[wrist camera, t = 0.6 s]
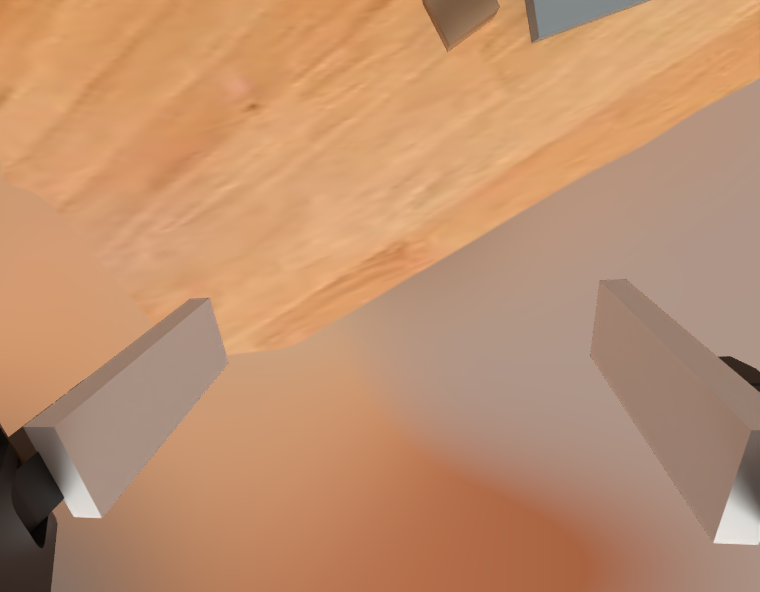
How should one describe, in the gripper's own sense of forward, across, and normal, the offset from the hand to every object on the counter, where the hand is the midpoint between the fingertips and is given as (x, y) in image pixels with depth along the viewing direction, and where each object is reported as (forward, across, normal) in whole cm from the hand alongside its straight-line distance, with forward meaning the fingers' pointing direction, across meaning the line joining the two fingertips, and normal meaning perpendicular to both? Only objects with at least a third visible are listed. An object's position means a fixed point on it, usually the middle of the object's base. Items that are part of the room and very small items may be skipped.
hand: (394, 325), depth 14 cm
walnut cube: (+27, +4, +14) cm, 30 cm away
